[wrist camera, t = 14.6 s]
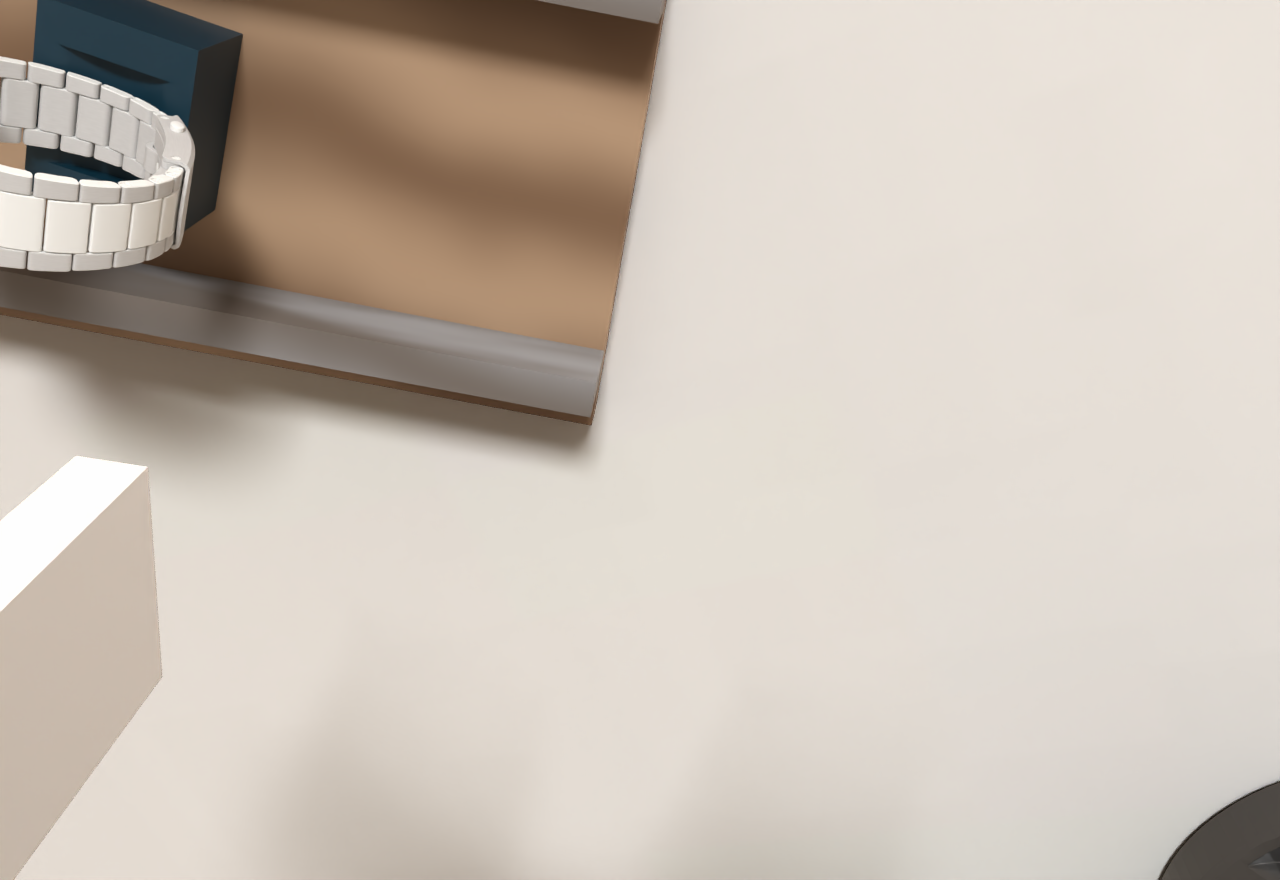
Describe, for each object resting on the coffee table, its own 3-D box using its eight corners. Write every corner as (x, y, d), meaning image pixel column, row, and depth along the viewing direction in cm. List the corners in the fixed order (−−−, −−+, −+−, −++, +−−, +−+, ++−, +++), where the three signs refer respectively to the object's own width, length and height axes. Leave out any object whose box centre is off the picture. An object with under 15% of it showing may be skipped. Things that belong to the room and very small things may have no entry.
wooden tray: (596, 405, 40) (583, 460, 36) (-95, 276, 39) (-177, 318, 36) (683, -98, 32) (677, -91, 29) (-167, -264, 32) (-279, -278, 28)
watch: (28, -42, 33) (-270, 5, 23) (302, 54, 33) (124, 139, 24) (15, 145, 35) (-259, 258, 26) (269, 231, 36) (98, 373, 26)
